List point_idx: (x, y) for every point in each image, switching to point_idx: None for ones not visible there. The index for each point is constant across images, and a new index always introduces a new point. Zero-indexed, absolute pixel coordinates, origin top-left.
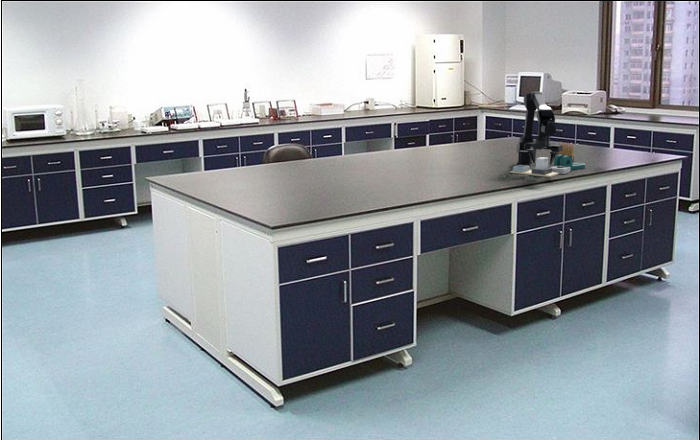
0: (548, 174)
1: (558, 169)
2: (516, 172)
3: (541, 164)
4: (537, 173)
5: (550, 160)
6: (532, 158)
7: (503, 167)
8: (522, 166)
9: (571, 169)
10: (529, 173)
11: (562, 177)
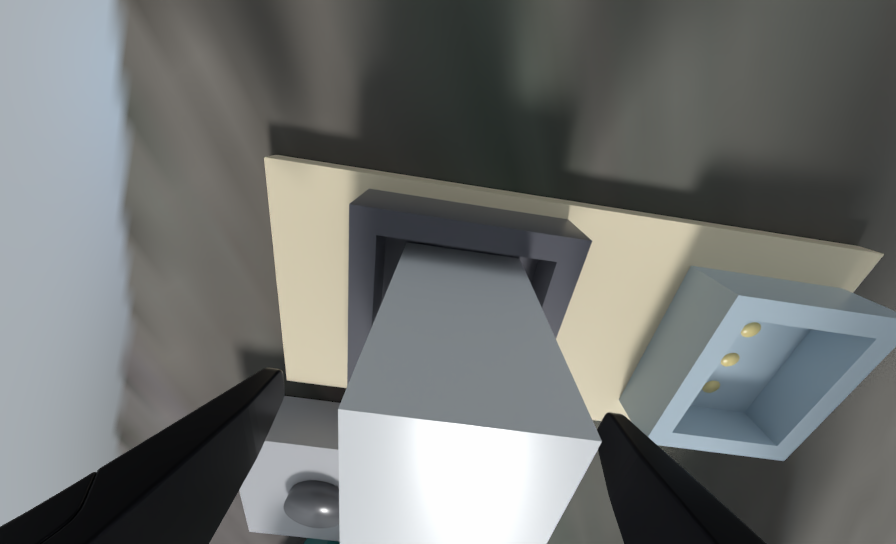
0: (330, 236)
1: (300, 436)
2: (785, 236)
3: (422, 313)
4: (476, 206)
5: (200, 435)
6: (700, 498)
7: (879, 471)
8: (730, 429)
9: (306, 541)
10: (595, 207)
11: (153, 217)
